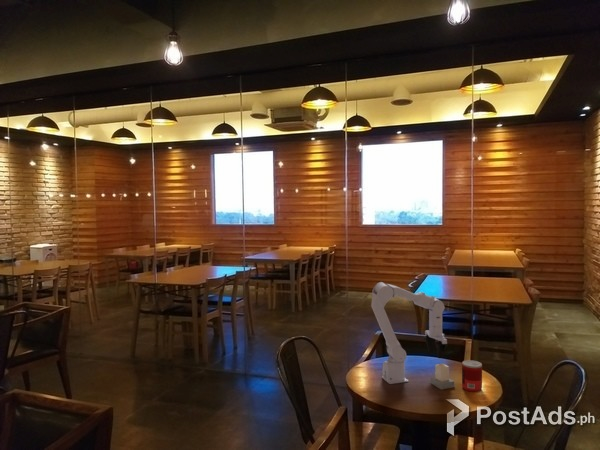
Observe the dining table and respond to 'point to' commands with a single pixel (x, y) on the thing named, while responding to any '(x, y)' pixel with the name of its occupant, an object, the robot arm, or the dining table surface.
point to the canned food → (472, 376)
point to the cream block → (442, 372)
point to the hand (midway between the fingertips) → (435, 354)
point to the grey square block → (442, 383)
